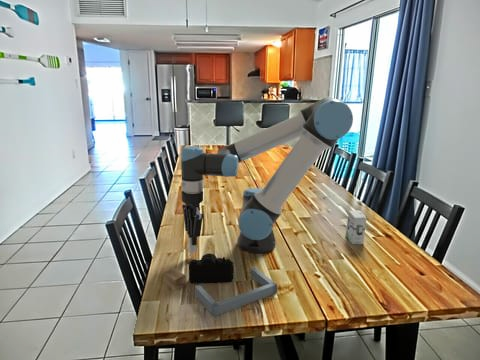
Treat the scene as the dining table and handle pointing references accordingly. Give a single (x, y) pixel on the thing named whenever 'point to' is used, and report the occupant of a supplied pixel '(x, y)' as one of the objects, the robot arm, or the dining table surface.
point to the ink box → (356, 227)
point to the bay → (241, 299)
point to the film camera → (211, 270)
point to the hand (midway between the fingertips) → (192, 251)
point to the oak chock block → (174, 279)
